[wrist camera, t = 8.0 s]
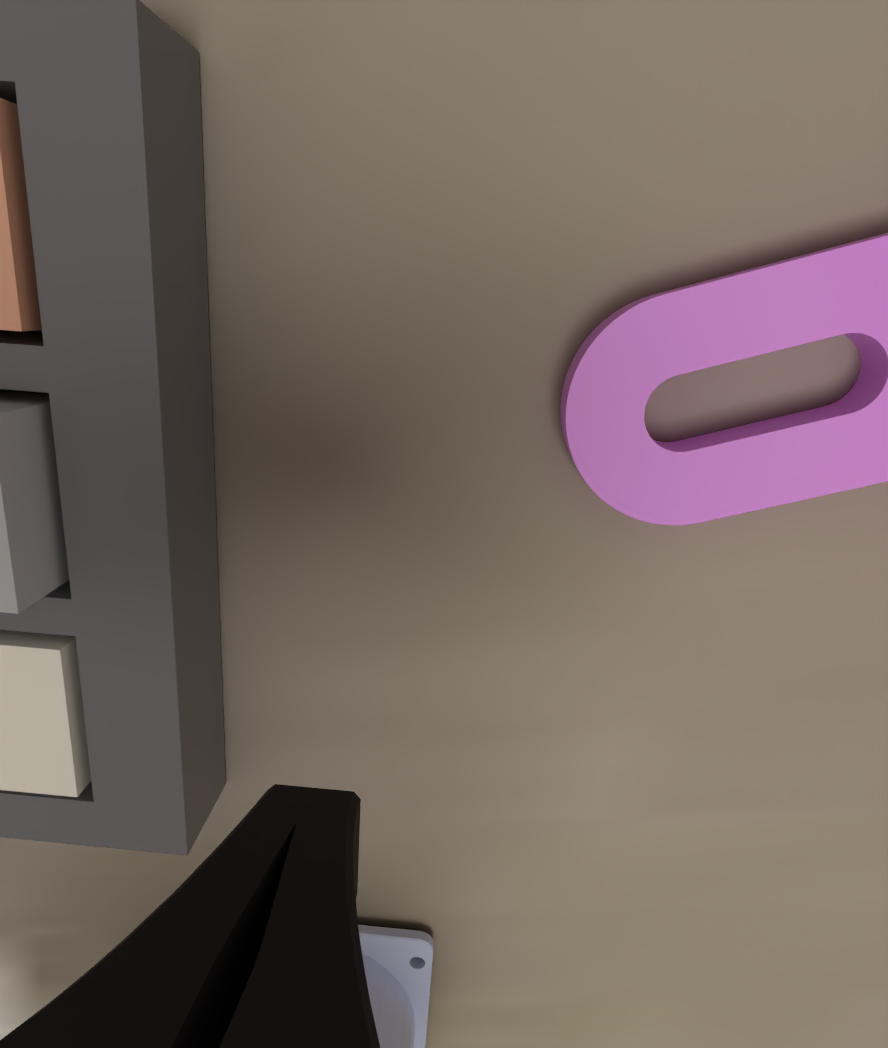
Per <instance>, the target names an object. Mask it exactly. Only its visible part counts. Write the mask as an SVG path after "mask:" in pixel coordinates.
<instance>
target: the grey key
mask: <svg viewBox="0 0 888 1048" xmlns="http://www.w3.org/2000/svg"><path fill="white" fill-rule="evenodd" d="M68 580H69V572H68V563H67V554H66V544H65V535H64V526H63V517H62V508H61V499H60V490H59V481H58V471H57V462H56V453H55V444H54V435H53V426H52V417H51V408H50V399H49V395H48V394H35V393H22V392H9V391H0V612H4V613H16V614H19V613H20V612H22V611H23V610H25V609H26V608H28V607H29V606H31V605H32V604H34V603H35V602H37V601H38V600H40V599H41V598H43V597H44V596H46V595H47V594H49V593H50V592H52V591H53V590H55V589H56V588H58V587H59V586H61V585H62V584H64V583H65V582H67V581H68Z"/></svg>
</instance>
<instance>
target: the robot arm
mask: <svg viewBox="0 0 888 1048" xmlns="http://www.w3.org/2000/svg"><path fill="white" fill-rule="evenodd" d="M359 827H360V798H359V797H358V796H357V795H356V794H355V793H354V792H351V791H340V790H330V789H319V788H309V787H298V786H287V785H277V784H275V785H274V786H272V787H271V788H270V789H268V790H267V792H266V793H265V794H264V795H263V796H262V797H261V799H260V800H259V801H258V802H257V803H256V805H255V806H254V807H253V808H252V809H251V810H250V811H249V813H248V814H247V815H246V816H245V817H244V818H243V819H242V821H241V822H240V823H239V824H238V825H237V826H236V827H235V829H234V830H233V831H232V832H231V833H230V834H229V835H228V836H227V837H226V838H225V839H224V841H223V842H222V843H221V844H220V845H219V846H218V847H217V848H216V849H215V850H214V851H213V853H212V854H211V855H210V856H209V857H208V858H207V859H206V860H205V861H204V862H203V863H202V864H201V865H200V866H199V867H198V868H197V869H196V870H195V871H194V872H193V873H192V874H191V875H190V876H189V877H188V878H187V880H186V881H185V882H184V883H183V884H182V885H181V886H180V887H179V888H178V889H177V890H176V891H175V892H174V893H173V894H172V895H171V896H170V897H169V898H168V899H167V900H165V901H164V902H163V903H162V904H161V905H160V906H159V907H158V908H157V909H156V910H155V911H154V912H153V913H152V914H151V915H150V916H149V917H147V918H146V919H145V920H144V921H143V922H142V923H141V924H140V925H139V926H138V927H137V928H136V929H135V930H134V931H133V932H132V933H131V934H129V935H128V936H127V937H126V938H125V939H124V940H123V941H122V942H121V943H120V944H119V945H117V946H116V947H115V948H114V949H113V950H112V951H111V952H109V953H108V954H107V955H106V956H105V957H104V958H103V959H102V960H100V961H99V962H98V963H97V964H96V965H95V966H93V967H92V968H91V969H90V970H89V971H88V972H86V973H85V974H84V975H83V976H82V977H80V978H79V979H78V980H77V981H75V982H74V983H73V984H72V985H71V986H69V987H68V988H67V989H66V990H65V991H63V992H62V993H61V994H60V995H58V996H57V997H56V998H55V999H54V1000H52V1001H51V1002H50V1003H49V1004H47V1005H46V1006H45V1007H43V1008H42V1009H41V1010H40V1011H38V1012H37V1013H36V1014H34V1015H33V1016H32V1017H30V1018H29V1019H28V1020H26V1021H25V1022H24V1023H22V1024H21V1025H20V1026H19V1027H17V1028H16V1029H15V1030H13V1031H12V1032H11V1033H9V1034H8V1035H7V1036H5V1037H4V1038H3V1039H1V1040H0V1048H425V1046H426V1034H427V1022H428V1010H429V997H430V985H431V973H432V961H433V949H434V942H433V939H432V937H431V936H430V935H429V934H427V933H426V932H423V931H417V930H407V929H397V928H387V927H377V926H367V925H358V920H357V910H356V896H357V882H358V854H359ZM415 957H420V958H415Z"/></svg>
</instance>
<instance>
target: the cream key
mask: <svg viewBox="0 0 888 1048" xmlns="http://www.w3.org/2000/svg"><path fill="white" fill-rule="evenodd" d="M90 781H91V773H90V763H89V754H88V745H87V736H86V727H85V718H84V709H83V700H82V690H81V681H80V672H79V663H78V654H77V645H76V636H66V635H55V634H44V633H32V632H21V631H10V630H0V790H6V791H17V792H27V793H38V794H48V795H58V796H69V797H78V796H79V795H80V794H81V792H82V791H83V790H84V789H85V787H86V786H87V785H88V784H89V783H90Z"/></svg>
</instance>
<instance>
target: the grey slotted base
mask: <svg viewBox="0 0 888 1048" xmlns="http://www.w3.org/2000/svg"><path fill="white" fill-rule="evenodd" d="M0 98H2V99H5V100H7V101H10V102H12V103H14V104H17V107H18V116H19V125H20V134H21V143H22V152H23V161H24V170H25V180H26V189H27V198H28V207H29V216H30V225H31V234H32V243H33V253H34V262H35V271H36V280H37V289H38V298H39V307H40V316H41V326H42V334H37V333H23V332H10V331H0V389H6V390H19V391H32V392H45V393H49V399H50V408H51V417H52V426H53V435H54V444H55V453H56V462H57V471H58V481H59V490H60V499H61V508H62V517H63V526H64V535H65V544H66V554H67V563H68V572H69V580H68V581H67V582H65V583H64V584H62V585H61V586H59V587H58V588H56V589H55V590H53V591H52V592H50V593H49V594H47V595H46V596H44V597H43V598H41V599H40V600H38V601H37V602H35V603H34V604H32V605H31V606H29V607H28V608H26V609H25V610H23V611H22V612H20V613H19V614H16V613H4V612H0V630H10V631H21V632H32V633H44V634H55V635H66V636H76V645H77V654H78V663H79V672H80V681H81V690H82V700H83V709H84V718H85V727H86V736H87V745H88V754H89V763H90V773H91V781H90V783H89V784H88V785H87V786H86V787H85V789H84V790H83V791H82V792H81V794H80V795H79V796H78V797H69V796H58V795H48V794H38V793H27V792H17V791H6V790H0V837H6V838H16V839H26V840H36V841H47V842H57V843H67V844H77V845H87V846H97V847H107V848H118V849H128V850H138V851H148V852H158V853H168V854H179V855H188V853H189V851H190V849H191V848H192V846H193V844H194V842H195V840H196V838H197V836H198V834H199V833H200V831H201V829H202V827H203V825H204V823H205V821H206V820H207V818H208V816H209V814H210V812H211V810H212V808H213V807H214V805H215V803H216V801H217V799H218V797H219V795H220V794H221V792H222V790H223V788H224V786H225V784H226V768H225V741H224V714H223V687H222V660H221V633H220V605H219V578H218V551H217V524H216V497H215V470H214V443H213V416H212V388H211V361H210V334H209V307H208V280H207V253H206V226H205V199H204V172H203V144H202V117H201V90H200V63H199V52H198V51H196V50H195V49H194V48H193V47H192V46H191V45H190V44H188V43H187V42H186V41H185V40H184V39H183V38H182V37H180V36H179V35H178V34H177V33H176V32H175V31H174V30H172V29H171V28H170V27H169V26H168V25H167V24H166V23H164V22H163V21H162V20H161V19H160V18H159V17H158V16H156V15H155V14H154V13H153V12H152V11H151V10H150V9H148V8H147V7H146V6H145V5H144V4H143V3H142V2H140V1H139V0H0Z"/></svg>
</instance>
